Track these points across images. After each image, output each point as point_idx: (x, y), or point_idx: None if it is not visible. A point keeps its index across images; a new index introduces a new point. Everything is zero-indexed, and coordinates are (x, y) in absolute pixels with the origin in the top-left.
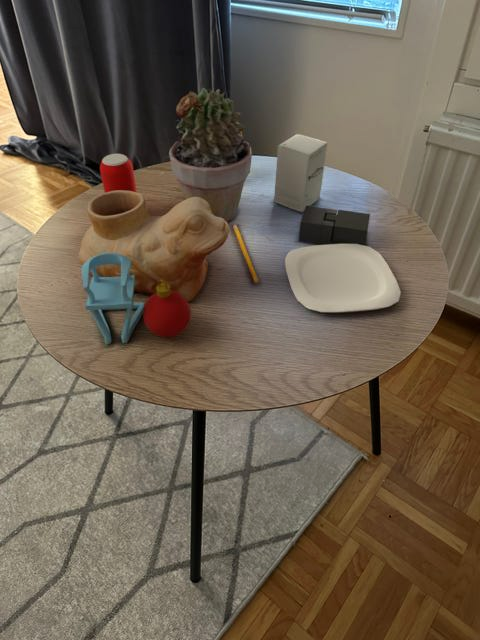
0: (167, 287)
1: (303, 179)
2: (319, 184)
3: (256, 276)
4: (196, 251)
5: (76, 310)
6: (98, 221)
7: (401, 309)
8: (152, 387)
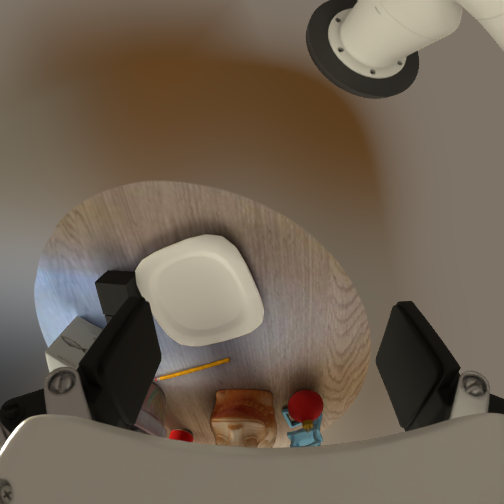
0: (307, 425)
1: None
2: (72, 328)
3: (222, 360)
4: (264, 426)
5: (293, 430)
6: None
7: (224, 227)
8: (356, 384)
